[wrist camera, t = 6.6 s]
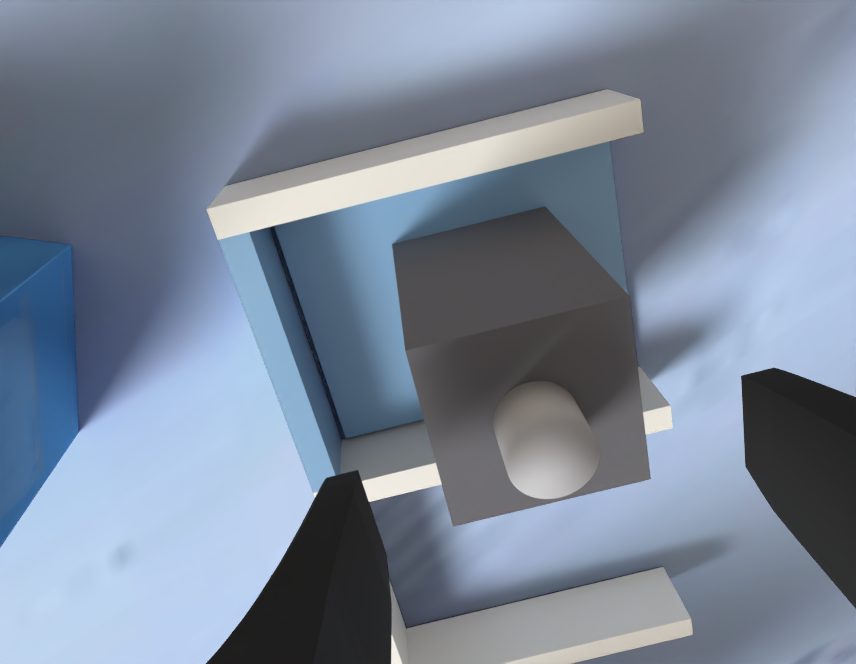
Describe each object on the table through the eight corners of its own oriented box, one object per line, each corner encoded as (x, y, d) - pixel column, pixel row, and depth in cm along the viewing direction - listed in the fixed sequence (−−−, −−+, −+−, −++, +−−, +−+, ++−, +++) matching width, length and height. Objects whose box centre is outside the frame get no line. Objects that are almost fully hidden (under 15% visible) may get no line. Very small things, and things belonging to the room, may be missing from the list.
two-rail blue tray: (665, 582, 27) (693, 634, 25) (391, 647, 27) (393, 706, 25) (607, 88, 19) (640, 99, 17) (224, 186, 19) (206, 208, 17)
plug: (567, 344, 22) (678, 523, 14) (427, 378, 22) (461, 575, 14) (545, 206, 20) (659, 326, 12) (391, 244, 20) (409, 388, 12)
